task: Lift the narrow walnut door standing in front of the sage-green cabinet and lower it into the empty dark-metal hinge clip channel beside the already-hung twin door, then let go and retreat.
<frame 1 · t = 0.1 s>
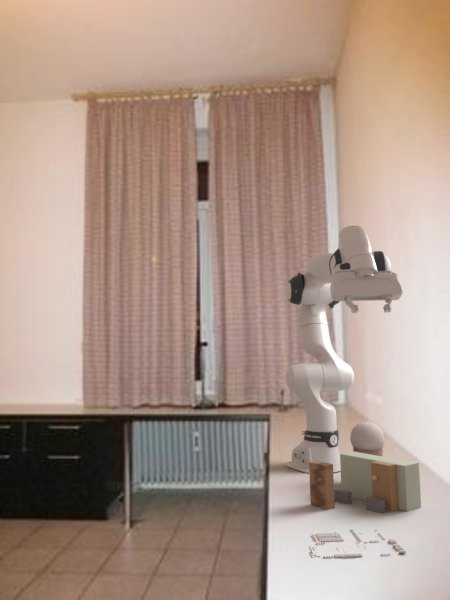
hand: (371, 311, 159), 54 cm above the countertop, tool tilted 30°, fingers open, 8 cm apart
door: (322, 506, 161), on the countertop
cabinet: (379, 500, 166), on the countertop
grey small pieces: (350, 546, 130), on the countertop
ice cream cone: (369, 484, 186), on the countertop
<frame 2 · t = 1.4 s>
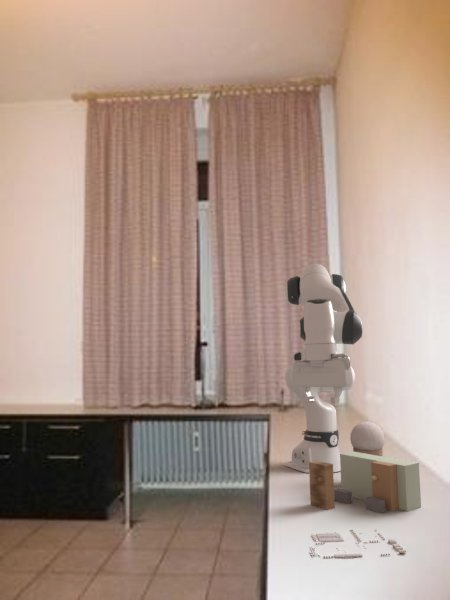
hand: (322, 403, 163), 29 cm above the countertop, tool pointing down, fingers open, 8 cm apart
nothing on the countertop moved.
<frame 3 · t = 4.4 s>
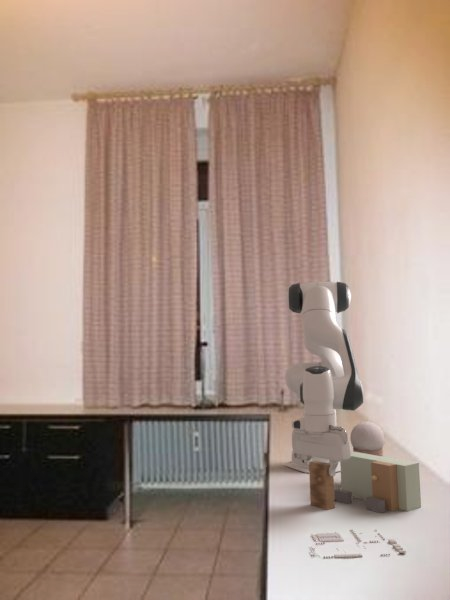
hand: (321, 473, 162), 9 cm above the countertop, tool pointing down, fingers closed on door, 6 cm apart
door: (322, 506, 161), on the countertop, touching gripper
everything else where it was.
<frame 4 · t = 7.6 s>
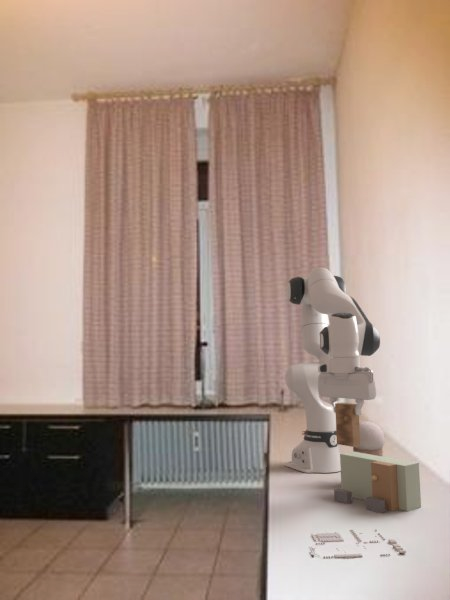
hand: (347, 413, 170), 25 cm above the countertop, tool pointing down, fingers closed on door, 6 cm apart
door: (348, 444, 169), point 16 cm above the countertop, touching gripper
everything else where it was.
when the fingers open (10 cm above the countertop, at t = 11.3 s): door stays where it is, resting in cabinet.
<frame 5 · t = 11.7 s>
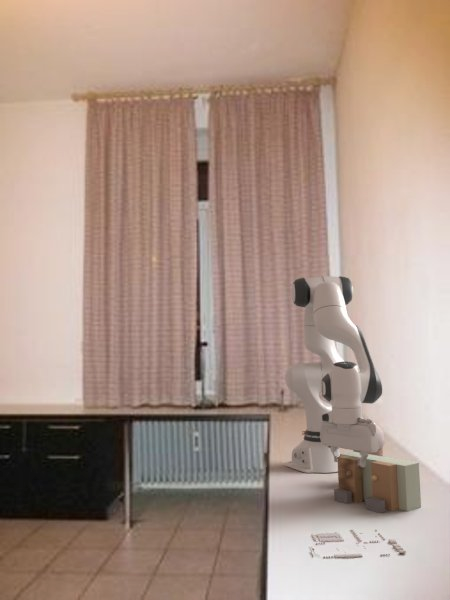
hand: (349, 464, 169), 10 cm above the countertop, tool pointing down, fingers open, 8 cm apart
door: (350, 499, 168), resting in cabinet
everything else where it was.
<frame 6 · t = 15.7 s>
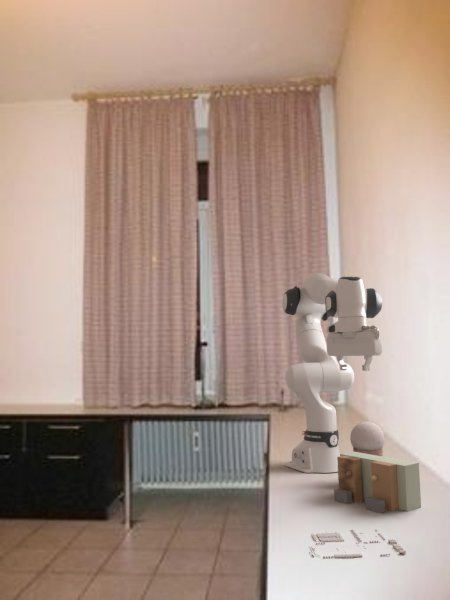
hand: (354, 370, 180), 37 cm above the countertop, tool pointing down, fingers open, 8 cm apart
nothing on the countertop moved.
at the end: door 0.1 cm from the target spot on the cabinet, point 0.0 cm above the cabinet's base; door tilted 0°; the gripper is holding nothing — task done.
